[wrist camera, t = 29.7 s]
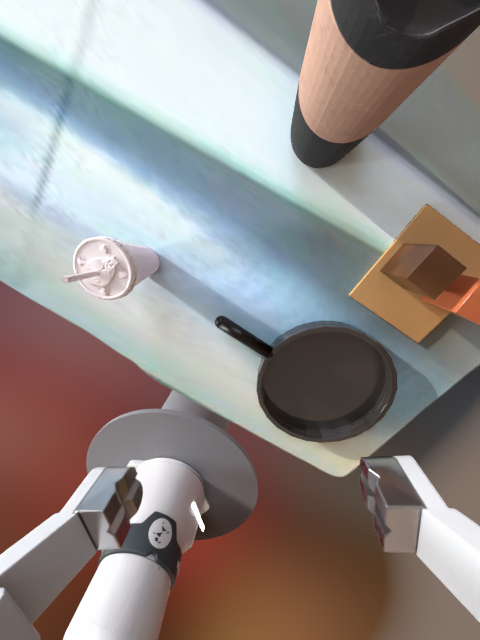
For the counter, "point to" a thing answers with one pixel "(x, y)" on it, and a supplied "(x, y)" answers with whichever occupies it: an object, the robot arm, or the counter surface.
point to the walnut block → (423, 269)
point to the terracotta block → (460, 299)
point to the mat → (407, 305)
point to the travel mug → (369, 67)
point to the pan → (326, 382)
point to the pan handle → (244, 336)
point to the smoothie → (111, 266)
